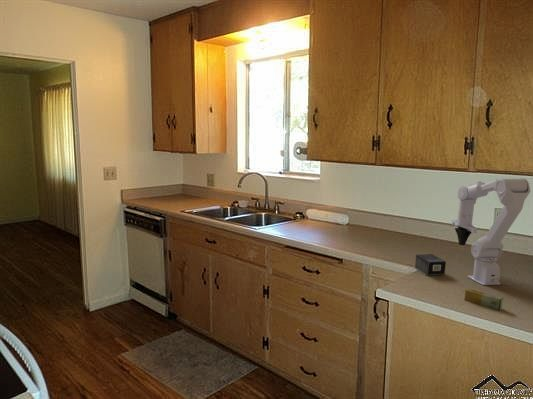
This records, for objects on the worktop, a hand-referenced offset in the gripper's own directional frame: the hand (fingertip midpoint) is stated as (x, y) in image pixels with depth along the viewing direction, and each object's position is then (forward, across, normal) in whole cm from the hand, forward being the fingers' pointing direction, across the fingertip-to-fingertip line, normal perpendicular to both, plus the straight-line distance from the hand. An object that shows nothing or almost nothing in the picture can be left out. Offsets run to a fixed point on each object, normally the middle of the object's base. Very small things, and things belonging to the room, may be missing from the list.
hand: (461, 244), depth 182 cm
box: (+7, +9, -16) cm, 20 cm away
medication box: (+10, +36, -16) cm, 41 cm away
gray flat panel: (+10, +3, -16) cm, 20 cm away
